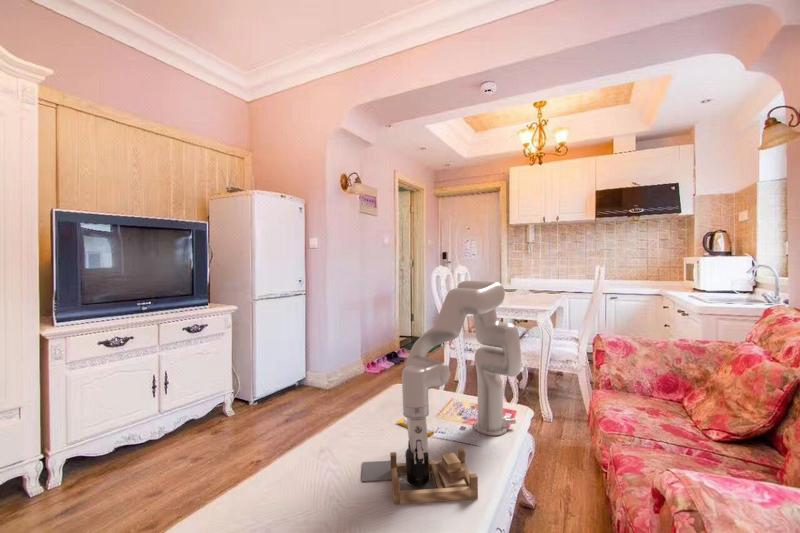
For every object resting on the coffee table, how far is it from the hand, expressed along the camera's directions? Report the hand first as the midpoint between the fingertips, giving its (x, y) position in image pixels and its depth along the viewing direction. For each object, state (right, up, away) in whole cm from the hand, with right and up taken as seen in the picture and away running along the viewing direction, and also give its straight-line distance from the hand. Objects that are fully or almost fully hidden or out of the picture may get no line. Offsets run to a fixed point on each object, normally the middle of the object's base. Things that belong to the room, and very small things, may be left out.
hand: (417, 467), depth 107 cm
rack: (+4, -5, 0) cm, 6 cm away
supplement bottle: (0, -4, 0) cm, 4 cm away
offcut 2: (+10, -2, +1) cm, 10 cm away
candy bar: (+1, -5, +35) cm, 35 cm away
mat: (-12, -5, +7) cm, 15 cm away
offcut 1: (+10, 0, 0) cm, 10 cm away
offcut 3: (+10, -5, 0) cm, 11 cm away
